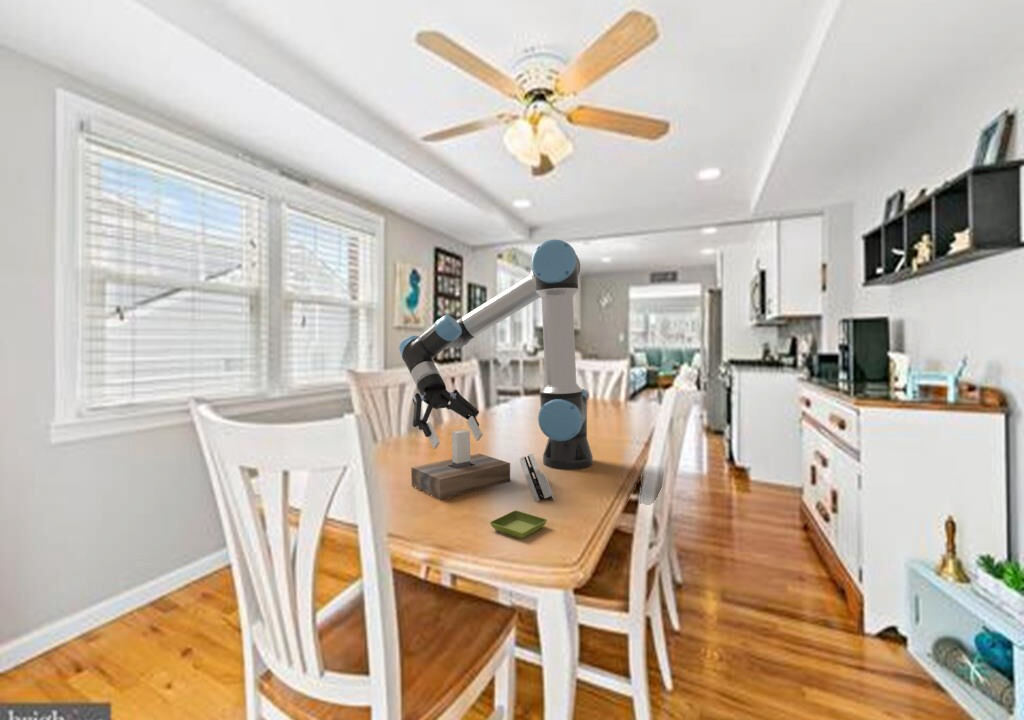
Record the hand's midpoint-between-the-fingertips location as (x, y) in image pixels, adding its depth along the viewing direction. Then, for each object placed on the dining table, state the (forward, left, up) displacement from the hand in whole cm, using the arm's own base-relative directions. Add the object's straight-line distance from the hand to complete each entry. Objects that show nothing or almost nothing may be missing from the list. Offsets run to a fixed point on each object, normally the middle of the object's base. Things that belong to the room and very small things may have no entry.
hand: (459, 441), depth 127 cm
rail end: (0, 0, -10) cm, 10 cm away
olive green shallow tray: (-24, +23, -12) cm, 36 cm away
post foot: (-1, 0, -11) cm, 11 cm away
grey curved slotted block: (-21, -1, -12) cm, 24 cm away
